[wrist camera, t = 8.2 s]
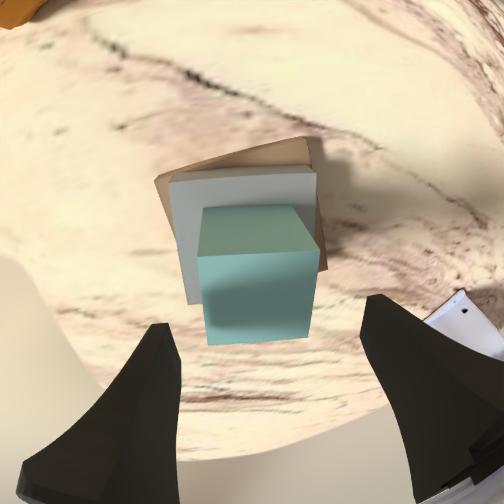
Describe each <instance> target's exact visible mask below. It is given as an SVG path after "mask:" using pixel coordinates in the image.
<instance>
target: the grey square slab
mask: <svg viewBox="0 0 504 504" xmlns="http://www.w3.org/2000/svg"><path fill="white" fill-rule="evenodd" d="M316 182H317V173H316V172H315V171H314V170H312V169H311V168H310V167H308V166H307V165H305V164H296V165H269V166H250V167H234V168H221V169H209V170H198V171H188V172H179V173H174V174H173V175H172V177H171V179H170V180H169V182H168V188H169V196H170V203H171V210H172V217H173V224H174V230H175V236H176V243H177V249H178V254H179V260H180V266H181V271H182V277H183V282H184V287H185V292H186V297H187V302H188V305H193V304H202V296H201V288H200V279H199V270H198V261H197V253H198V244H199V236H200V228H201V220H202V212H203V208H215V207H236V206H262V205H291V206H292V207H293V209H294V210H295V212H296V213H297V215H298V216H299V218H300V219H301V221H302V222H303V224H304V226H305V227H306V229H307V230H308V232H309V233H310V235H311V236H312V238H313V240H314V229H315V209H316Z"/></svg>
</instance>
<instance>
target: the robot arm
mask: <svg viewBox="0 0 504 504" xmlns="http://www.w3.org/2000/svg"><path fill="white" fill-rule="evenodd" d="M360 339H361V342H362V345H363V348H364V351H365V353H366V356H367V358H368V360H369V362H370V364H371V366H372V368H373V370H374V372H375V374H376V376H377V378H378V380H379V382H380V384H381V386H382V388H383V390H384V392H385V394H386V396H387V398H388V400H389V402H390V404H391V406H392V409H393V411H394V414H395V417H396V419H397V422H398V426H399V428H400V432H401V435H402V439H403V442H404V446H405V449H406V454H407V458H408V463H409V467H410V473H411V480H412V487H413V496H414V499H415V501H416V504H419V503H421V502H423V501H425V500H427V499H429V498H431V497H433V496H435V495H437V494H439V493H440V492H442V491H444V490H446V489H448V488H449V490H447V491H445V492H443V493H441V494H439V495H437V496H435V497H434V498H432V499H430V500H428V501H426V502H424V503H422V504H504V340H503V338H502V336H501V334H500V333H499V331H498V330H497V328H496V327H495V326H494V325H493V324H492V323H491V322H490V320H489V319H488V318H487V317H486V316H485V315H484V314H483V313H482V312H481V311H480V310H479V309H478V307H477V306H476V305H475V304H474V303H473V302H472V301H471V300H470V299H469V298H468V297H467V296H466V294H465V291H464V290H463V289H462V290H460V291H458V292H457V293H456V294H455V295H454V296H453V297H452V298H451V299H449V300H448V301H447V302H446V303H445V304H444V305H442V306H441V307H440V308H439V309H438V310H436V311H435V312H434V313H433V314H432V315H430V316H429V317H428V318H427V319H425V320H424V321H422V320H420V319H419V318H417V317H416V316H414V315H413V314H411V313H410V312H409V311H407V310H406V309H404V308H403V307H401V306H400V305H398V304H397V303H395V302H394V301H392V300H391V299H389V298H388V297H386V296H385V295H383V294H377V295H371V296H367V301H366V306H365V311H364V316H363V321H362V326H361V331H360ZM180 395H181V359H180V357H179V354H178V351H177V348H176V345H175V342H174V339H173V336H172V333H171V330H170V327H169V324H168V323H159V324H151V326H150V327H149V329H148V330H147V332H146V333H145V335H144V336H143V338H142V339H141V341H140V342H139V344H138V346H137V347H136V349H135V350H134V352H133V353H132V355H131V356H130V358H129V359H128V361H127V362H126V364H125V365H124V367H123V368H122V369H121V371H120V372H119V374H118V375H117V376H116V378H115V379H114V380H113V382H112V383H111V384H110V386H109V387H108V388H107V389H106V391H105V392H104V393H103V394H102V396H101V397H100V398H99V399H98V400H97V401H96V403H95V404H94V405H93V406H92V407H91V408H90V409H89V410H88V411H87V412H86V413H85V414H84V415H83V416H82V417H81V418H80V419H79V420H78V421H77V422H76V423H75V424H74V425H73V426H72V427H71V428H70V429H69V430H67V431H66V432H65V433H64V434H63V435H61V436H60V437H59V438H57V439H56V440H55V441H53V442H52V443H51V444H50V445H48V446H47V447H45V448H44V449H42V450H41V451H39V452H38V453H36V454H35V455H33V456H31V457H30V458H28V459H27V460H25V461H24V462H23V464H22V468H21V472H20V477H19V480H18V485H17V489H16V494H17V496H18V497H19V498H20V499H22V500H23V501H25V502H27V503H28V504H180V501H179V492H178V481H177V467H176V434H177V423H178V414H179V404H180Z"/></svg>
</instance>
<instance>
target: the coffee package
mask: <svg viewBox="0 0 504 504" xmlns="http://www.w3.org/2000/svg"><path fill="white" fill-rule="evenodd" d="M46 1H48V0H0V27H2V28H5V29H8V30H11V29H13V28H14V27H18V26H21V25H23V24H25V23H27V22H28V21H29V20H30V19H31V18H32V17H33V16H34V14H35V12H36V11H37V10H38V9H39V7H40V6H41V5H42V4H44V3H45V2H46Z"/></svg>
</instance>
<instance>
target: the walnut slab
mask: <svg viewBox="0 0 504 504" xmlns="http://www.w3.org/2000/svg"><path fill="white" fill-rule="evenodd" d="M296 164H305V165H307V166H308V167H310V168H311V169H312V165H311V160H310V155H309V150H308V145H307V140H306V139H305V138H302V137H300V136H299V137H295V138H290V139H285V140H281V141H277V142H272V143H268V144H264V145H260V146H256V147H252V148H248V149H244V150H240V151H237V152H233V153H229V154H226V155H222V156H219V157H215V158H212V159H208V160H205V161H202V162H198V163H195V164H192V165H189V166H185V167H182V168H179V169H176V170H173V171H170V172H167V173H164V174H161V175H158V177H157V178H156V179H155V180H154V183H155V186H156V188H157V191H158V194H159V197H160V199H161V202H162V205H163V208H164V210H165V213H166V216H167V218H168V221H169V224H170V226H171V229H172V231H173V234H174V236H175V230H174V224H173V217H172V210H171V203H170V196H169V188H168V182H169V180H170V179H171V177H172V175H173V174H174V173H179V172H188V171H198V170H209V169H221V168H234V167H250V166H269V165H296ZM175 239H176V236H175ZM314 241H315V243H316V244H317V246H318V247H319V249H320V257H319V265H318V272H321V271H325V270H328V265H327V258H326V250H325V243H324V236H323V230H322V223H321V217H320V210H319V204H318V198H317V193H316V209H315V229H314Z"/></svg>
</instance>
